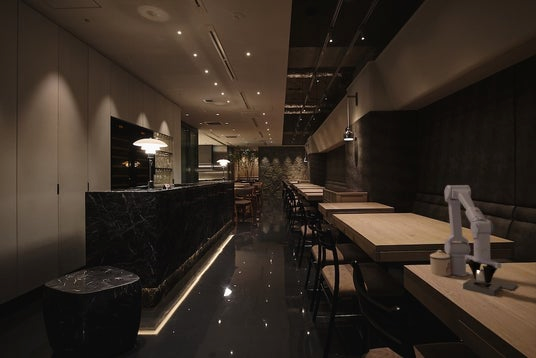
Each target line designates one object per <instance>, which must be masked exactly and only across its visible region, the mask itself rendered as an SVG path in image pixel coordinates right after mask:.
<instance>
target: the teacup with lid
mask: <svg viewBox="0 0 536 358" xmlns="http://www.w3.org/2000/svg"><path fill="white" fill-rule="evenodd" d="M450 258H451V257H450V255H448V254H447V253H446V252H443V251H442V250H441V249H438V250H437V251H435V252H434V253H431V254H430V255H429V259H430V271H431V274H433V275H434V276H437V277H449V276H451V275H452V274H451V263H450Z"/></svg>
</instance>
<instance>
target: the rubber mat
mask: <svg viewBox="0 0 536 358" xmlns="http://www.w3.org/2000/svg"><path fill="white" fill-rule="evenodd" d="M491 282H492V283H497V284H501V285H502V290H505V291H511V292H513V291H514V290H515V289H516V288H517V287H518V284H517V283H511V282H506V281H501V280H497V279H492V280H491Z"/></svg>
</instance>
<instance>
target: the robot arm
mask: <svg viewBox="0 0 536 358" xmlns="http://www.w3.org/2000/svg"><path fill="white" fill-rule="evenodd" d="M471 196H472V189H471V187H470V185H468V184H464V185H463V184H461V185H460V184H459V185H457V184H455V185H450V184H447V185H446V186H445V188H444V201H445V202H446V203H447V204H448V215H449V228H450V235H449V236H447V237H446V238H445V240H444V248H443V249H444V253H445V254H448V255H450V257H451V258H450V263H451V275H455V276H458V277H466V276H467V275H469V274H470V272H469V271H467V265H468V266H469V268H470V270H471V272H472V275H473V279H476V269H481V265H482V269H484V272H485V281H486V283H491V280H493V277H494V274H495V273H496V271H497V270H498V269H502V263H501V262H499V261H498V262H497V261H495V260H492V259H491V234H493V232H494V225H493V223H492V221H491V220H489V219H488V218H485V216H484V214H483V212H482V211H481V210H480V208H479V207H475V203H474V201H473V200H472V197H471ZM461 204H462V205H463V208H464V209H465V215H466V218H467V220H468V221H469V223H470V231H471V237H472V238H473V255H470V253H471V246H470V243H469V239H467V238H466V237H464V236H463V225H462V216H461V214H462V213H461ZM467 261H468V262H467Z"/></svg>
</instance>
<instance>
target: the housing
mask: <svg viewBox="0 0 536 358" xmlns="http://www.w3.org/2000/svg"><path fill="white" fill-rule="evenodd" d="M462 289H463V290H466V291H470V292H475V293H478V294H482V295H483V294H484V295H487V296H492V297H495V296H497V294H499V293H501V291H503V289H502V285H501V284H497V283H492V282H491V283H489V287H484V286H479V285H476V279H474V277H472V278H470V279H469V280H467V281H465V282H463V283H462Z"/></svg>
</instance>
